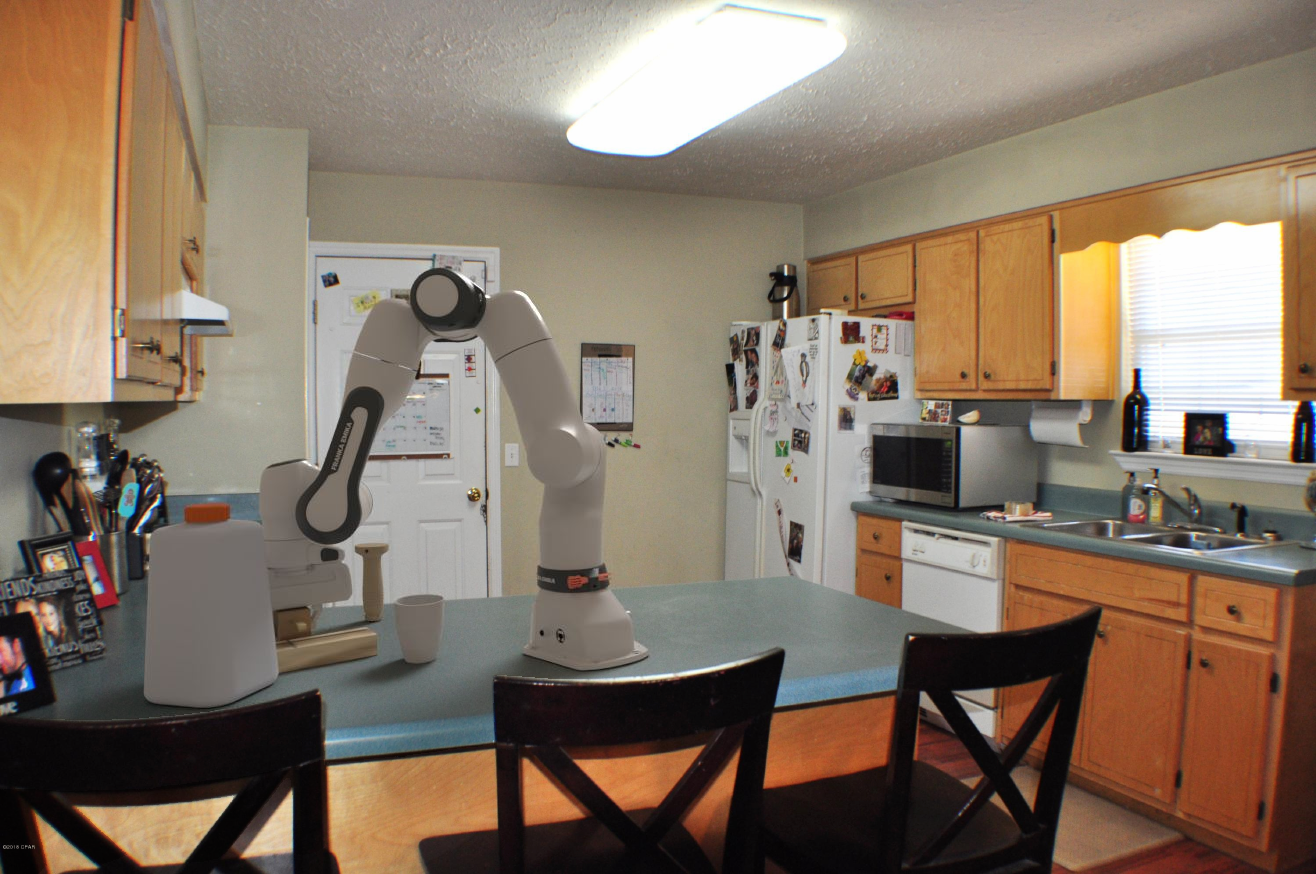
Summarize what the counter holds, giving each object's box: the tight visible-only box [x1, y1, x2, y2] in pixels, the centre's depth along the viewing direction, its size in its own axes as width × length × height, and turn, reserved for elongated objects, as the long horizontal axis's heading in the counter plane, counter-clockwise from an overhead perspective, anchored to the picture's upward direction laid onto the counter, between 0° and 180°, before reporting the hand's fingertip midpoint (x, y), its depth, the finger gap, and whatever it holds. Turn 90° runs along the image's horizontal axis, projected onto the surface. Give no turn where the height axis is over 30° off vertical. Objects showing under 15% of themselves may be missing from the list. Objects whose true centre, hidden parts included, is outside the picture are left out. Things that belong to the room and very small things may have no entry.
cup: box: [393, 593, 446, 664], centre depth 142 cm, size 8×8×10 cm
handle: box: [354, 542, 390, 623], centre depth 168 cm, size 5×6×15 cm
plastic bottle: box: [143, 502, 280, 709], centre depth 127 cm, size 15×15×28 cm
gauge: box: [272, 606, 312, 642], centre depth 145 cm, size 11×5×7 cm, turn 36°
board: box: [275, 626, 379, 674], centre depth 143 cm, size 6×16×4 cm, turn 126°
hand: (291, 633), depth 147 cm, fingers closed on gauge, 5 cm apart
